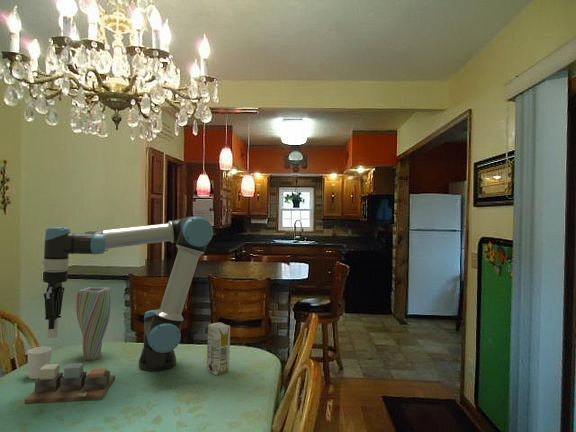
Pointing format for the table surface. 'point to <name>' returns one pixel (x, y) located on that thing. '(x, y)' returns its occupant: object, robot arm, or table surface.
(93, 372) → the terracotta key
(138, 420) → the table surface
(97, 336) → the vase
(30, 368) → the white cup
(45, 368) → the cream key
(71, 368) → the slate key
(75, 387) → the board
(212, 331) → the juice carton
